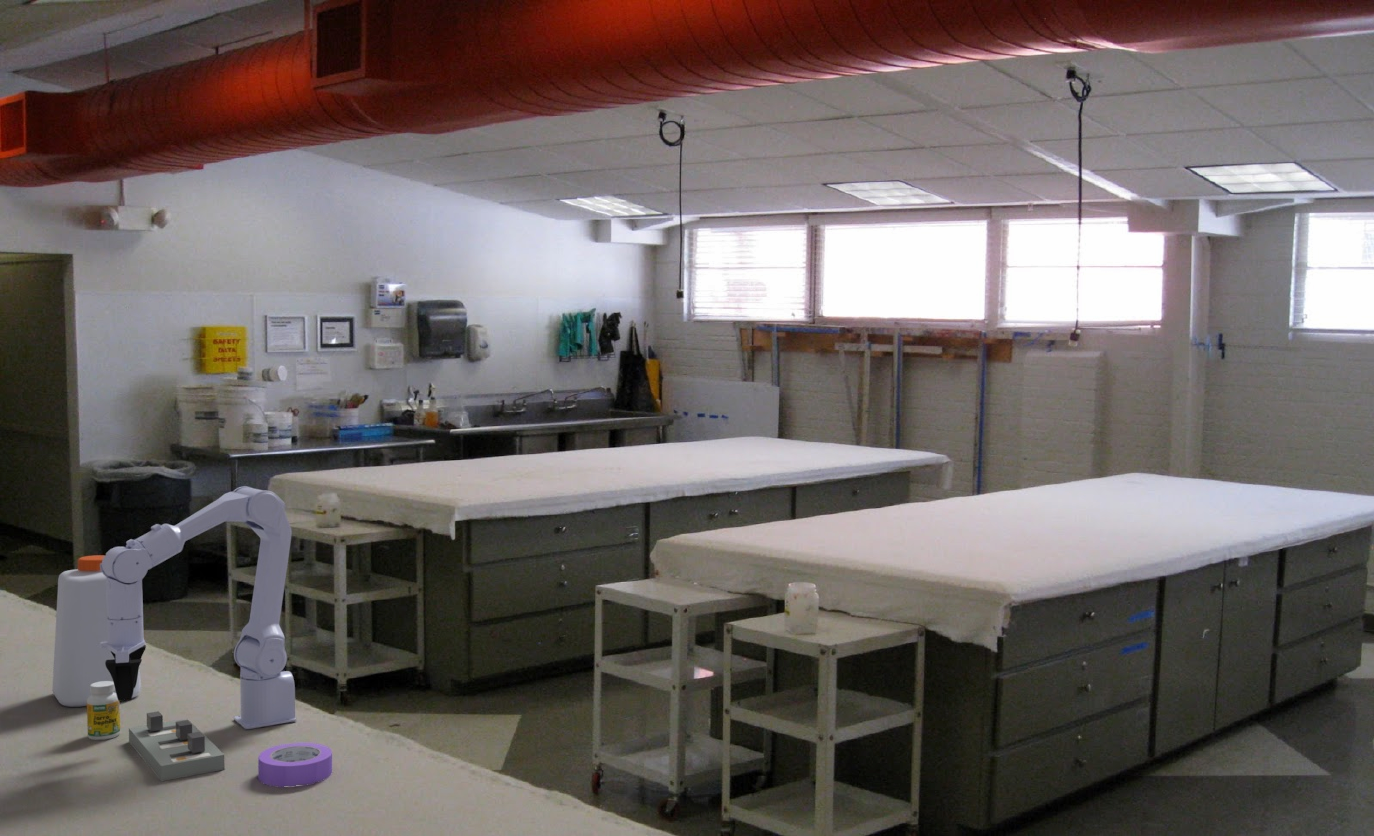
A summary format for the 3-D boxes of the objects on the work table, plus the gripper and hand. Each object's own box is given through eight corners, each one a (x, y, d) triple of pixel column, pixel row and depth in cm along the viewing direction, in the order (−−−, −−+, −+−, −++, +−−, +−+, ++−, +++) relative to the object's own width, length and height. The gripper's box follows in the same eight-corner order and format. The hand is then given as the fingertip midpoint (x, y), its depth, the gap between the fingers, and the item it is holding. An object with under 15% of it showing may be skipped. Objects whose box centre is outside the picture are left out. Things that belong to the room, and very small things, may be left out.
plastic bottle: (145, 699, 252) (142, 559, 250) (61, 711, 244) (58, 566, 242) (130, 681, 265) (127, 548, 263) (49, 692, 256) (46, 555, 254)
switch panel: (187, 731, 232) (187, 717, 231) (224, 769, 212) (224, 753, 212) (129, 741, 226) (128, 726, 226) (161, 780, 206) (161, 764, 206)
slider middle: (187, 733, 221) (187, 719, 221) (192, 738, 219) (192, 724, 219) (175, 735, 220) (175, 721, 220) (180, 740, 218) (179, 725, 218)
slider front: (200, 746, 215) (199, 731, 215) (204, 750, 212) (204, 736, 212) (187, 748, 214) (187, 733, 214) (192, 753, 211) (192, 738, 211)
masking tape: (346, 768, 214) (346, 746, 213) (303, 792, 202) (303, 768, 202) (287, 760, 217) (287, 738, 217) (243, 783, 206) (242, 759, 206)
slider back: (158, 724, 226) (158, 711, 226) (162, 729, 224) (162, 715, 224) (146, 726, 225) (146, 713, 225) (150, 731, 223) (150, 717, 222)
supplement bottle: (117, 729, 233) (116, 678, 232) (122, 737, 228) (121, 684, 228) (85, 734, 230) (84, 682, 229) (90, 742, 225) (88, 689, 225)
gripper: (104, 609, 225) (106, 684, 226) (95, 627, 211) (97, 707, 212) (147, 606, 227) (149, 681, 228) (140, 624, 214) (142, 703, 215)
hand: (127, 693), depth 220 cm, fingers open, 7 cm apart
